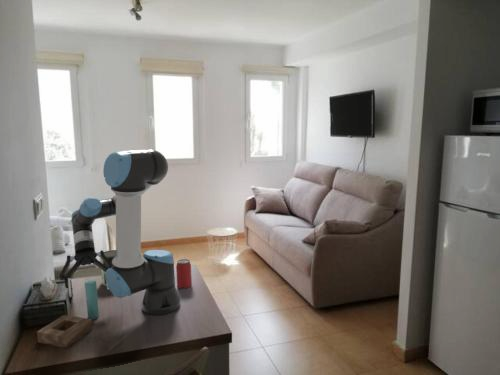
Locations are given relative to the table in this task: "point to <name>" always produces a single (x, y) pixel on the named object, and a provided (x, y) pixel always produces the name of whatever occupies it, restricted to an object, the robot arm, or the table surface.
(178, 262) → the beer can
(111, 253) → the coffee can
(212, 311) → the table surface
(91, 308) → the teal pin
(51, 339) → the walnut hole block
